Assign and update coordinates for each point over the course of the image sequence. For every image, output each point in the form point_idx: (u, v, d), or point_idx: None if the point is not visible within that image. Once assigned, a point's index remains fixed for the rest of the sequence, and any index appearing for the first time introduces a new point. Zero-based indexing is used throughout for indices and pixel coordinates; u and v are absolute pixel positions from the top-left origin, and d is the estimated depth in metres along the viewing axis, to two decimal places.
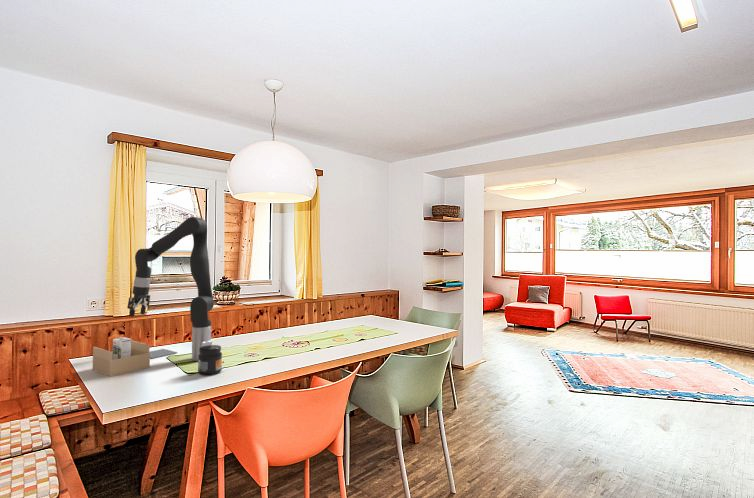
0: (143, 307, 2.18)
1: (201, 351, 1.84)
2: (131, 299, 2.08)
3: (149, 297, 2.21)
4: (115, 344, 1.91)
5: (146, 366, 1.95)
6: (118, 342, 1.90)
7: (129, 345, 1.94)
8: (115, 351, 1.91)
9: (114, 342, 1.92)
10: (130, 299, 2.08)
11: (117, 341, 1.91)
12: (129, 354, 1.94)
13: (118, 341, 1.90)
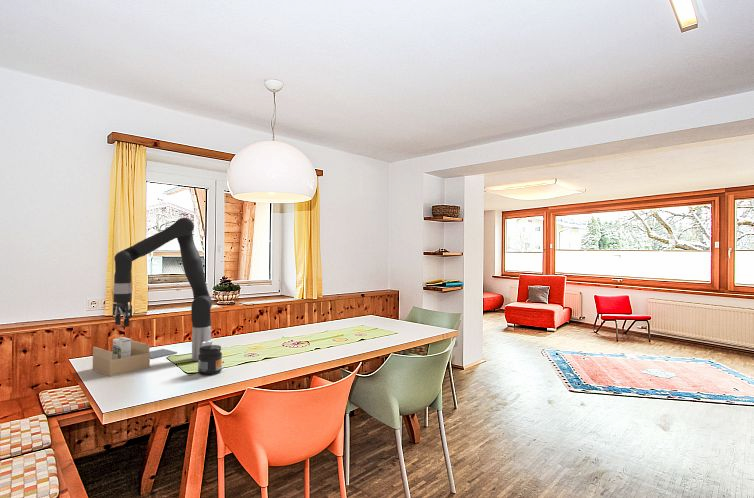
0: (118, 317, 1.96)
1: (201, 351, 1.84)
2: (129, 307, 1.90)
3: None
4: (115, 344, 1.91)
5: (146, 366, 1.95)
6: (118, 342, 1.90)
7: (129, 345, 1.94)
8: (115, 351, 1.91)
9: (114, 342, 1.92)
10: (128, 307, 1.90)
11: (117, 341, 1.91)
12: (129, 354, 1.94)
13: (118, 341, 1.90)
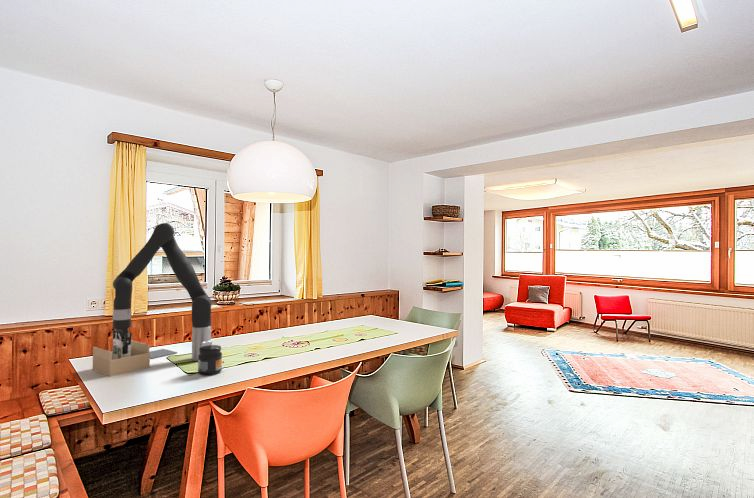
0: None
1: (201, 351, 1.84)
2: (129, 335, 1.90)
3: None
4: (115, 344, 1.91)
5: (146, 366, 1.95)
6: (118, 342, 1.90)
7: (129, 345, 1.94)
8: (115, 351, 1.91)
9: (114, 342, 1.92)
10: (128, 335, 1.90)
11: (118, 341, 1.91)
12: (129, 354, 1.94)
13: (118, 341, 1.90)
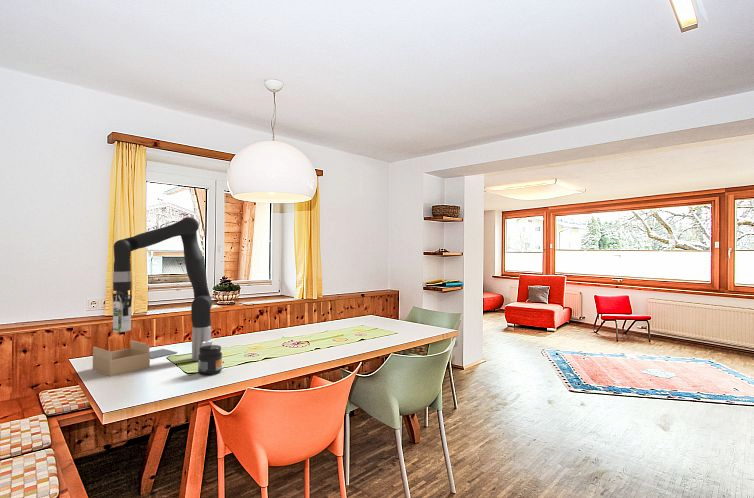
0: None
1: (201, 351, 1.84)
2: (129, 297, 1.90)
3: None
4: (116, 306, 1.91)
5: (146, 366, 1.95)
6: (118, 304, 1.90)
7: (129, 308, 1.94)
8: (116, 313, 1.91)
9: (114, 304, 1.92)
10: (128, 297, 1.90)
11: (118, 303, 1.91)
12: (129, 317, 1.94)
13: (118, 303, 1.90)
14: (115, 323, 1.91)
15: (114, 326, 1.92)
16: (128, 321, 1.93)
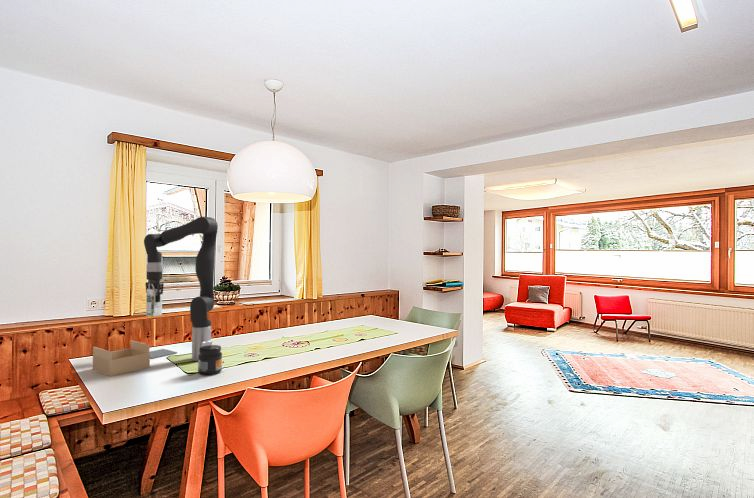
0: None
1: (201, 351, 1.84)
2: (161, 285, 2.14)
3: None
4: (149, 293, 2.15)
5: (146, 366, 1.95)
6: (151, 291, 2.14)
7: (161, 295, 2.18)
8: (149, 300, 2.14)
9: (148, 292, 2.15)
10: (160, 285, 2.13)
11: (151, 290, 2.14)
12: (161, 303, 2.18)
13: (151, 290, 2.14)
14: (148, 308, 2.14)
15: (147, 311, 2.15)
16: (159, 307, 2.17)
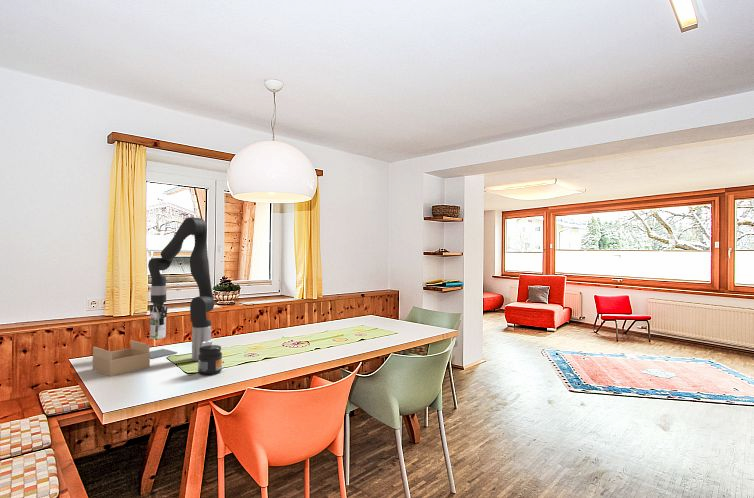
0: None
1: (201, 351, 1.84)
2: (165, 308, 2.17)
3: None
4: (153, 316, 2.18)
5: (146, 366, 1.95)
6: (155, 314, 2.17)
7: (165, 317, 2.21)
8: (153, 323, 2.18)
9: (152, 315, 2.19)
10: (164, 308, 2.16)
11: (155, 313, 2.17)
12: (165, 325, 2.21)
13: (156, 313, 2.17)
14: (152, 331, 2.18)
15: (151, 334, 2.18)
16: (163, 329, 2.20)
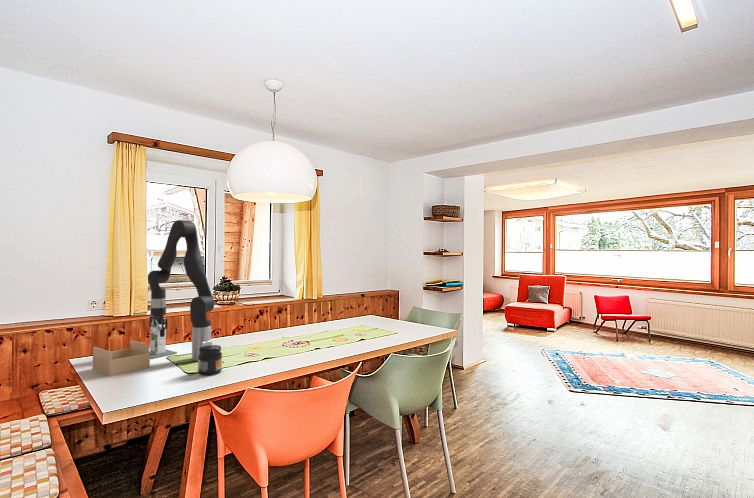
0: None
1: (201, 351, 1.84)
2: (165, 319, 2.17)
3: None
4: (153, 331, 2.18)
5: (146, 366, 1.95)
6: (155, 329, 2.17)
7: None
8: (153, 338, 2.18)
9: (151, 330, 2.19)
10: (164, 320, 2.16)
11: (155, 329, 2.17)
12: (164, 340, 2.21)
13: (155, 329, 2.17)
14: (152, 346, 2.18)
15: (151, 349, 2.18)
16: (163, 344, 2.20)
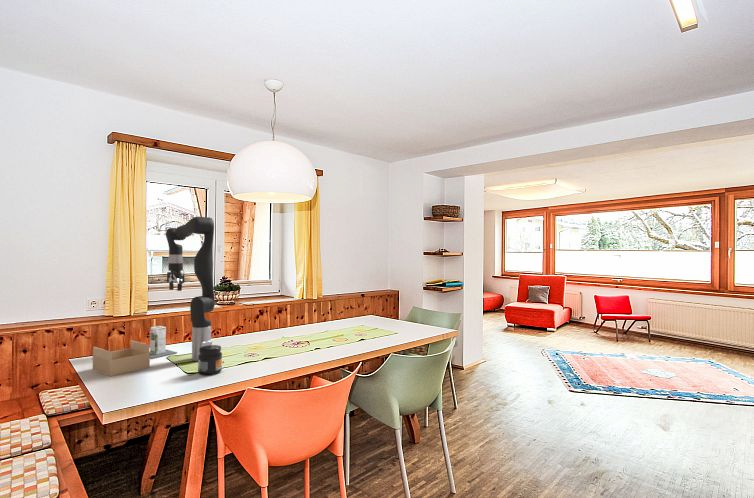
0: (171, 283, 2.35)
1: (201, 351, 1.84)
2: (182, 274, 2.29)
3: None
4: (153, 331, 2.18)
5: (146, 366, 1.95)
6: (155, 330, 2.17)
7: (164, 332, 2.21)
8: (153, 338, 2.18)
9: (151, 330, 2.19)
10: (181, 274, 2.29)
11: (155, 329, 2.17)
12: (164, 340, 2.21)
13: (155, 329, 2.17)
14: (152, 346, 2.18)
15: (151, 349, 2.18)
16: (163, 344, 2.20)
